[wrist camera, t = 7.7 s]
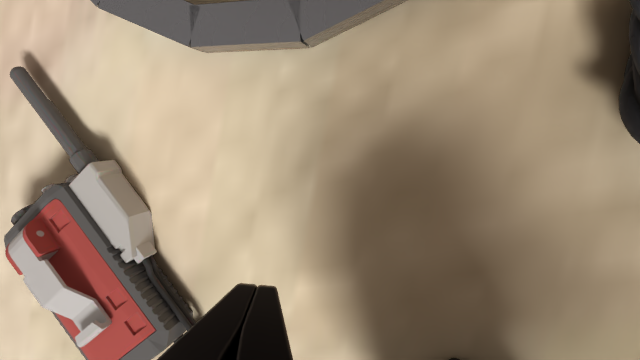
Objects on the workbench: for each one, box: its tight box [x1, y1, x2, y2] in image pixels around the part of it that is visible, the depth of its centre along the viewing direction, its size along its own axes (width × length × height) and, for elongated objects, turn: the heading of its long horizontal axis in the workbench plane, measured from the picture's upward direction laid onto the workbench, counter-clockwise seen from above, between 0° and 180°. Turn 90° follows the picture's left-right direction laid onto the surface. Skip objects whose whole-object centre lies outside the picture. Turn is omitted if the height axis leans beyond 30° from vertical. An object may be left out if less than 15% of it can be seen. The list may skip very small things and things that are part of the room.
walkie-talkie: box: [4, 67, 196, 360], centre depth 22 cm, size 9×4×20 cm
